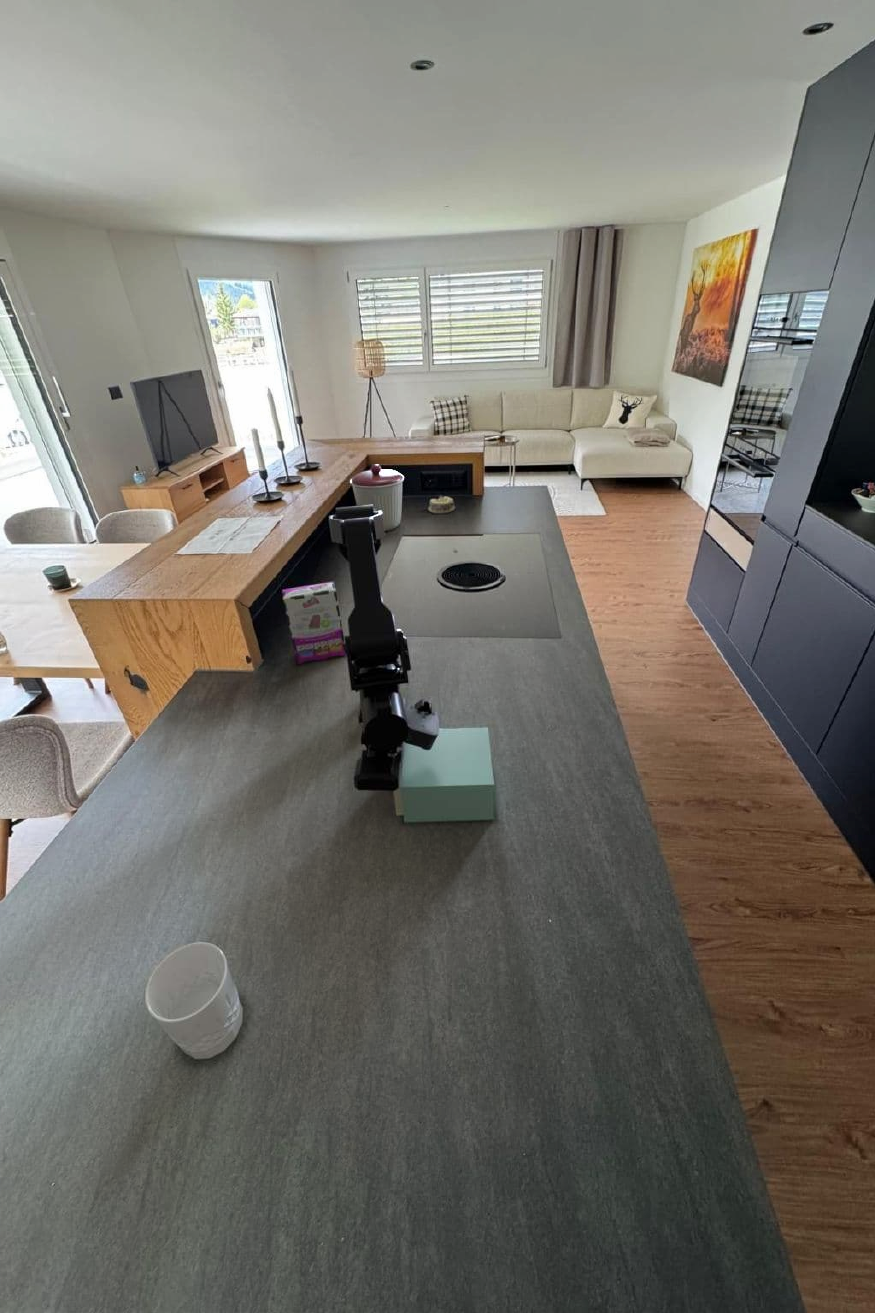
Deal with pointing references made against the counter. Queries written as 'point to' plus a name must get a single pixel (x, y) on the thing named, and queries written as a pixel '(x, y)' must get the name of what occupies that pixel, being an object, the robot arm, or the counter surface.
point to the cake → (441, 505)
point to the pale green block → (449, 778)
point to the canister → (380, 493)
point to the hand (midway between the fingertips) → (384, 779)
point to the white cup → (196, 999)
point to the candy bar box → (314, 622)
